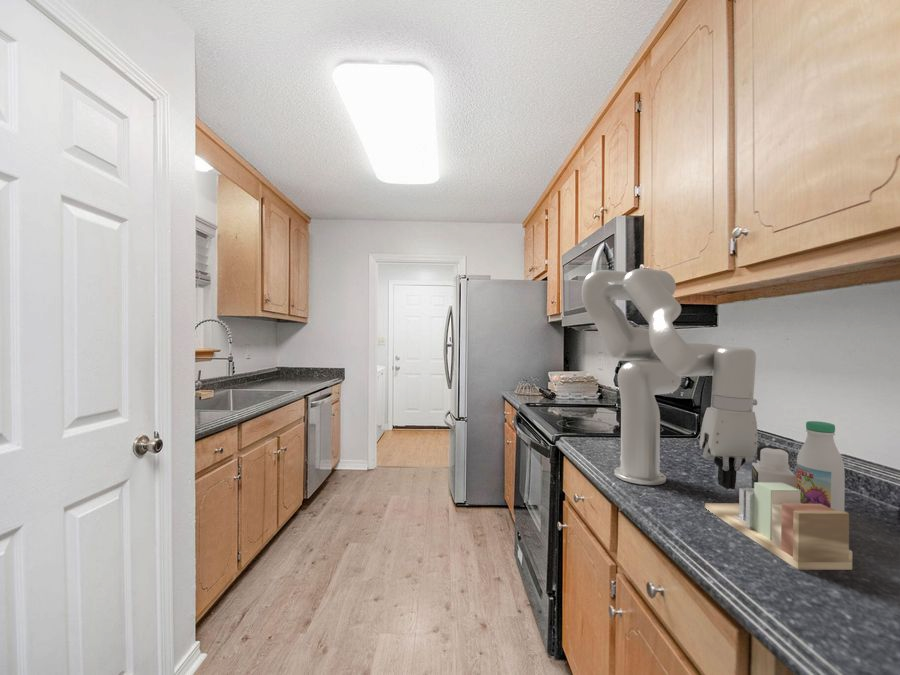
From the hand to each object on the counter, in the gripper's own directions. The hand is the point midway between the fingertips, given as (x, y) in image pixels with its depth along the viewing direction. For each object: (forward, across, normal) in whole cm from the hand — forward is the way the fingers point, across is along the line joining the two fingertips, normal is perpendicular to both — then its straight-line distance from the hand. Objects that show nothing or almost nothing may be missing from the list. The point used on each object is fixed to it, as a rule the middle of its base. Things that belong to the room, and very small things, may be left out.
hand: (726, 486), depth 91 cm
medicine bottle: (+5, -16, -7) cm, 18 cm away
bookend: (+4, 0, +9) cm, 10 cm away
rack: (+5, -1, +11) cm, 12 cm away
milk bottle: (+5, -18, +3) cm, 19 cm away
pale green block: (+3, 0, +14) cm, 14 cm away
